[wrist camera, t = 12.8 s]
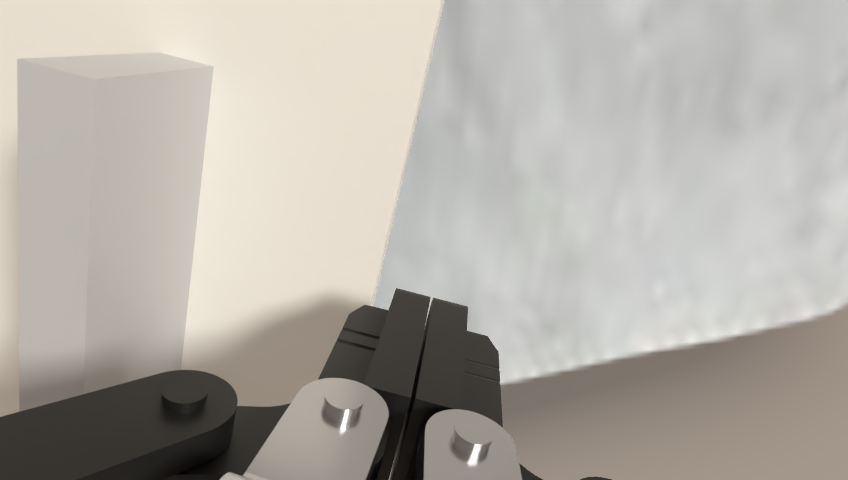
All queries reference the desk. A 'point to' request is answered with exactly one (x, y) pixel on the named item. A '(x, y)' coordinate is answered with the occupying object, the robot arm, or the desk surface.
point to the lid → (197, 185)
